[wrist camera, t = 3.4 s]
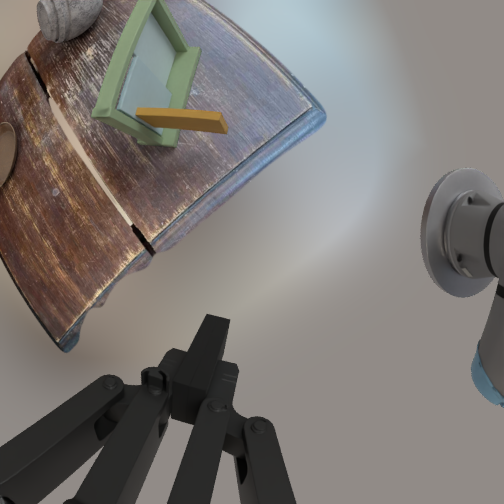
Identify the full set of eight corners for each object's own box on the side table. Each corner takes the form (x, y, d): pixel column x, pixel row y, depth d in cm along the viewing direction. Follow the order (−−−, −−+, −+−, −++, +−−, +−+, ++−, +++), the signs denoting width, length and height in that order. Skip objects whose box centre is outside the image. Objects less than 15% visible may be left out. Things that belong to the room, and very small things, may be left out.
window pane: (238, 99, 35) (227, 56, 22) (229, 142, 36) (212, 113, 23) (168, 94, 35) (133, 56, 22) (158, 135, 36) (116, 109, 23)
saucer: (12, 197, 40) (3, 197, 38) (-15, 181, 40) (-23, 181, 37) (31, 127, 38) (22, 125, 35) (1, 121, 37) (-7, 119, 35)
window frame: (201, 51, 35) (173, -12, 19) (176, 147, 38) (124, 116, 22) (167, 51, 35) (127, -5, 19) (140, 144, 38) (77, 117, 22)
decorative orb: (51, 38, 34) (13, 14, 19) (97, -7, 32) (66, -39, 17) (73, 61, 35) (28, 32, 20) (127, 9, 33) (93, -31, 18)
